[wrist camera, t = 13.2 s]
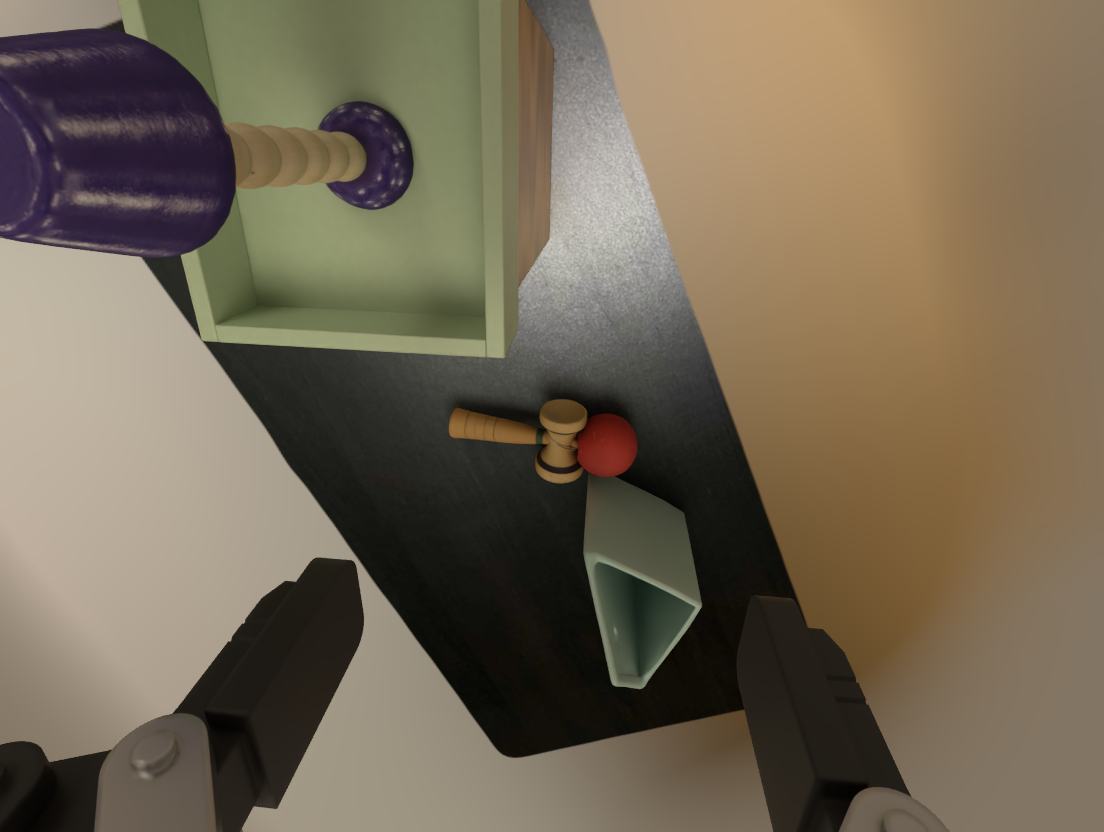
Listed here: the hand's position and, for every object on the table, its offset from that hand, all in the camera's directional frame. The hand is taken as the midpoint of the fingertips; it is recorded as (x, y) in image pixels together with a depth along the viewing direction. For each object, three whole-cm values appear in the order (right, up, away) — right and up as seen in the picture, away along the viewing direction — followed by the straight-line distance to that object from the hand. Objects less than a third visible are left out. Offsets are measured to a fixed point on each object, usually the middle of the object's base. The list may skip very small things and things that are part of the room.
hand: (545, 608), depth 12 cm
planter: (+10, -7, +49) cm, 51 cm away
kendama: (-1, +3, +46) cm, 46 cm away
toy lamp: (-8, +15, +13) cm, 22 cm away
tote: (-8, +16, +14) cm, 22 cm away
